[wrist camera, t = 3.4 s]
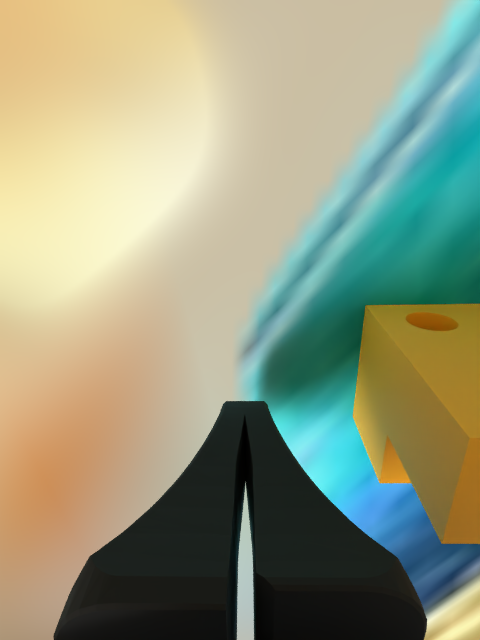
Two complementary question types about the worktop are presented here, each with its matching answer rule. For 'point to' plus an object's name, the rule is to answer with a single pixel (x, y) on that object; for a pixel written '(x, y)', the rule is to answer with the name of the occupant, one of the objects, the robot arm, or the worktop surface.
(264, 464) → the robot arm
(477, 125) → the worktop surface
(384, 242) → the worktop surface
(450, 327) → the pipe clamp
